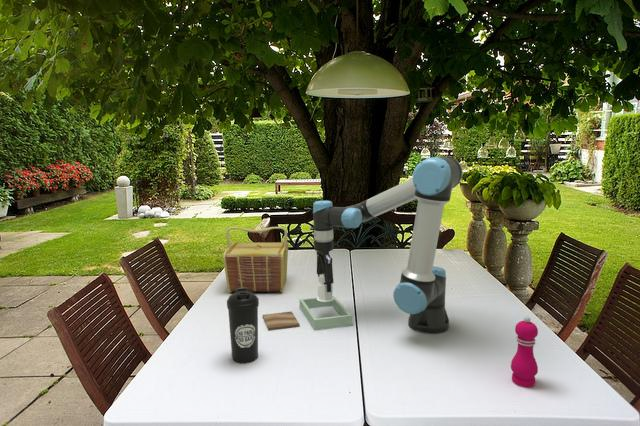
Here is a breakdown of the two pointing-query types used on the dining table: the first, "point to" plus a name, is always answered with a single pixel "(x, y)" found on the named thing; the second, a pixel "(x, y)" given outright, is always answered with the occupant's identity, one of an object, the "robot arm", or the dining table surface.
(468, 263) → the dining table surface
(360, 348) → the dining table surface
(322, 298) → the downlight
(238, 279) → the picnic basket
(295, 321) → the pad
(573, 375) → the dining table surface
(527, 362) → the pepper mill
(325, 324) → the bin
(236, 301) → the water bottle
